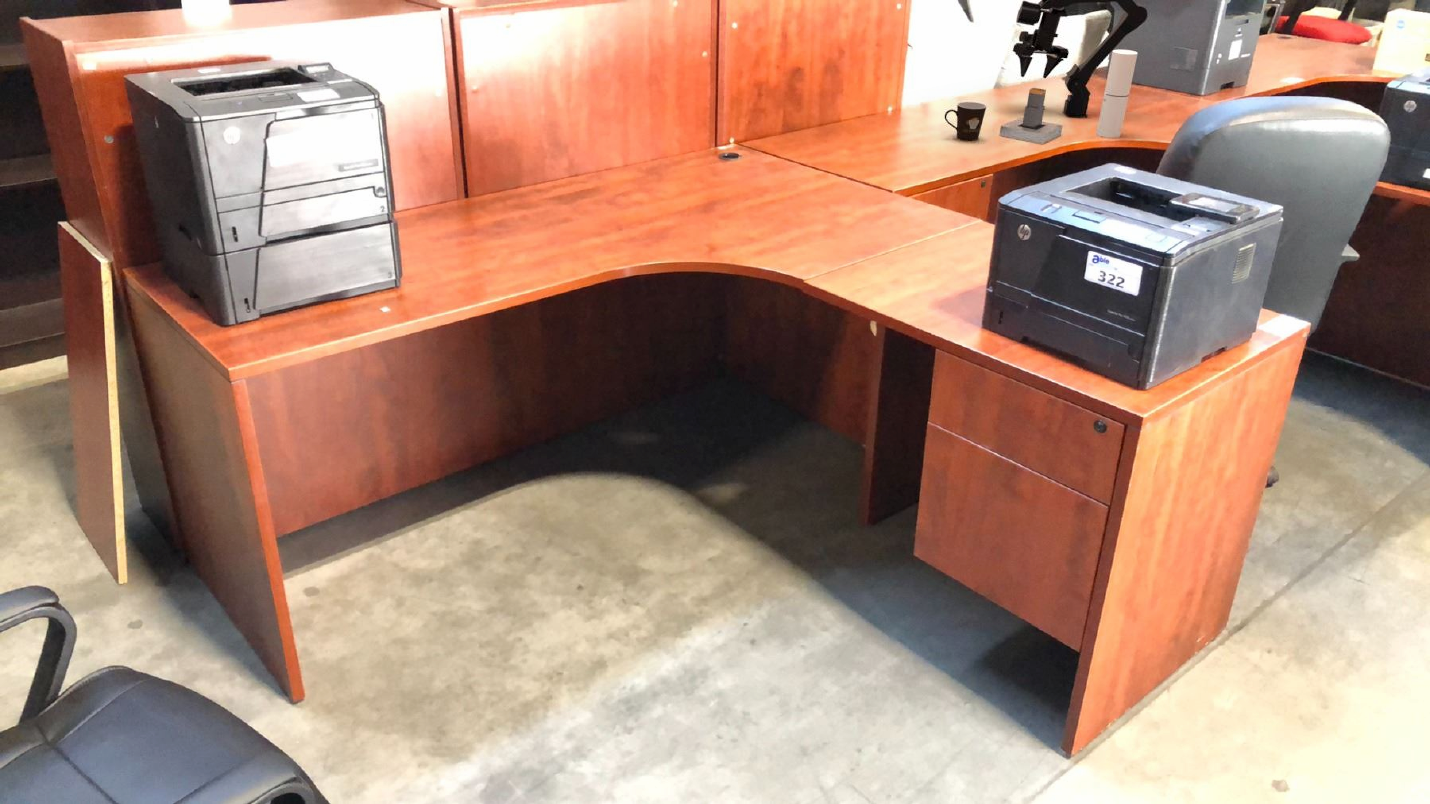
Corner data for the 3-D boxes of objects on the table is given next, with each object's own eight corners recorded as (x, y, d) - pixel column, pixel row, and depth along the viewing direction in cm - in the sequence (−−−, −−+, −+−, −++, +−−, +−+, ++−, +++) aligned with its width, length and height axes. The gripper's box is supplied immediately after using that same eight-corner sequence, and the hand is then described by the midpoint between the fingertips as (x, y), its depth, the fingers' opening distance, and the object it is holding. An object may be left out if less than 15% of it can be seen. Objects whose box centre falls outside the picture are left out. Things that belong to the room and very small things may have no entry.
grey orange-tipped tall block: (1027, 132, 326) (1035, 87, 319) (1039, 135, 323) (1047, 89, 316) (1020, 135, 322) (1028, 89, 315) (1032, 138, 320) (1040, 92, 313)
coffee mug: (983, 136, 321) (988, 103, 316) (979, 143, 314) (984, 110, 309) (945, 132, 324) (949, 99, 319) (941, 139, 317) (945, 106, 312)
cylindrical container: (1108, 139, 321) (1125, 55, 308) (1091, 133, 326) (1107, 50, 314) (1125, 136, 324) (1142, 53, 311) (1108, 130, 329) (1124, 48, 317)
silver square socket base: (1019, 126, 331) (1020, 117, 330) (1061, 135, 324) (1062, 125, 322) (999, 135, 322) (1000, 125, 320) (1041, 144, 314) (1043, 134, 313)
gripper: (1054, 24, 344) (1040, 71, 352) (1009, 20, 337) (996, 69, 345) (1076, 32, 336) (1061, 81, 344) (1030, 29, 328) (1016, 78, 336)
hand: (1033, 77), depth 342 cm, fingers open, 9 cm apart
